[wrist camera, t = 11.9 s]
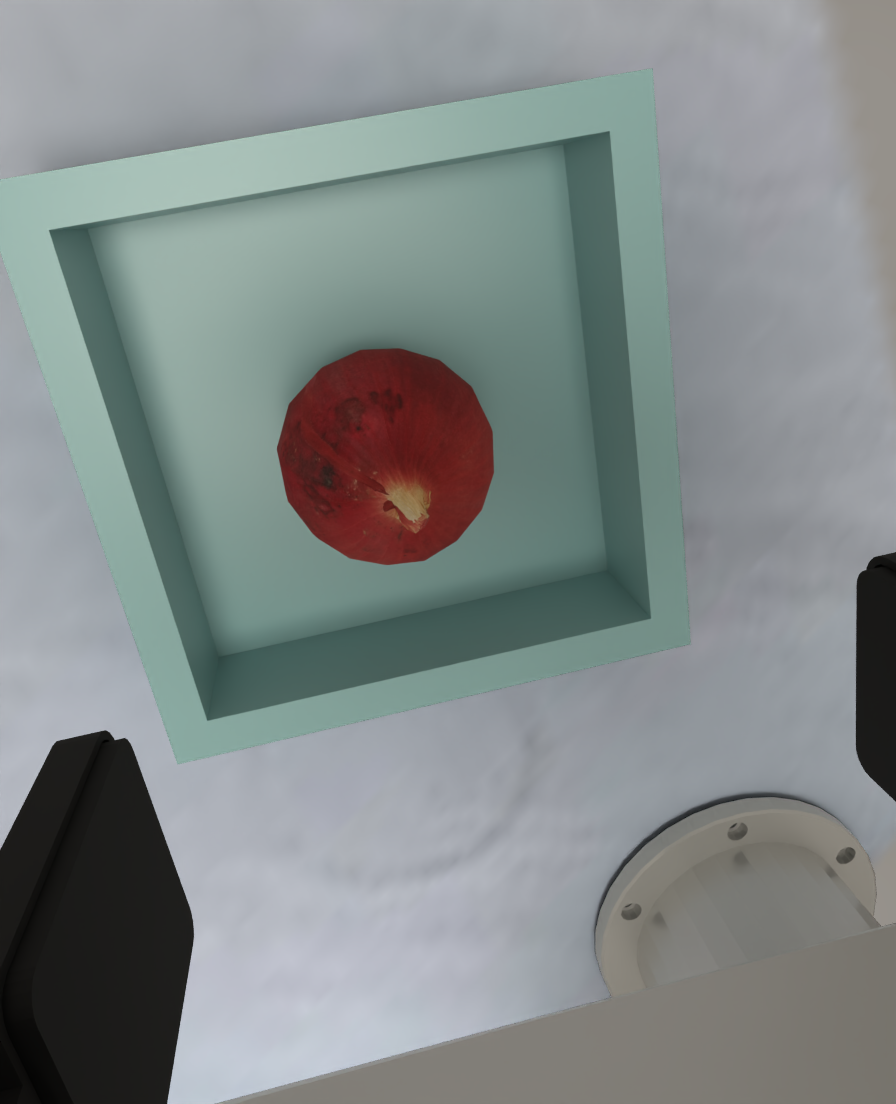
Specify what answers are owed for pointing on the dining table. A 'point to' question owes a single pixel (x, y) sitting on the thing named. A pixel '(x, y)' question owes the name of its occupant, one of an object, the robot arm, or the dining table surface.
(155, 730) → the dining table surface
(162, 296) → the bin
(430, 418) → the pomegranate
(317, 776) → the dining table surface
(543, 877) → the dining table surface
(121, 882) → the robot arm
